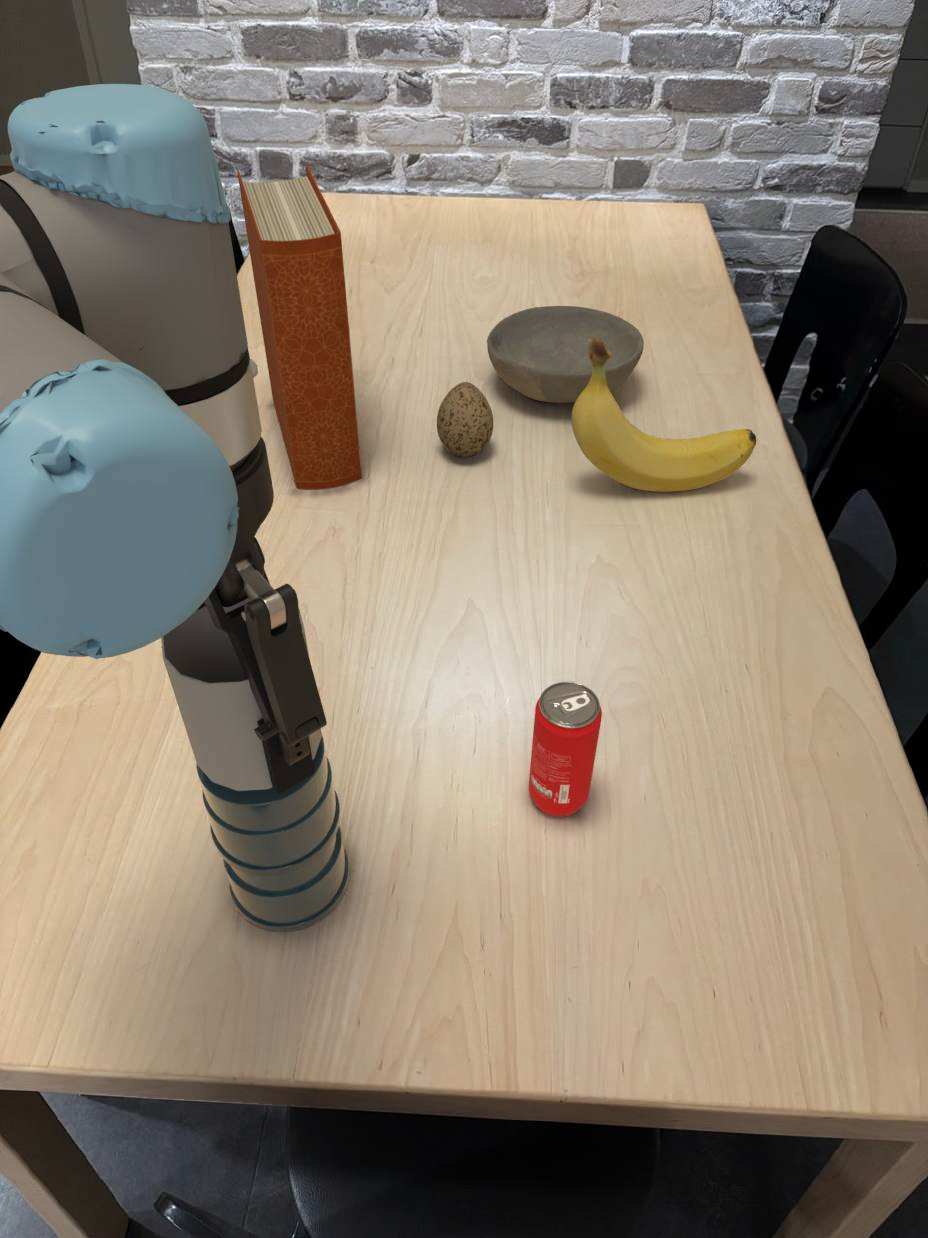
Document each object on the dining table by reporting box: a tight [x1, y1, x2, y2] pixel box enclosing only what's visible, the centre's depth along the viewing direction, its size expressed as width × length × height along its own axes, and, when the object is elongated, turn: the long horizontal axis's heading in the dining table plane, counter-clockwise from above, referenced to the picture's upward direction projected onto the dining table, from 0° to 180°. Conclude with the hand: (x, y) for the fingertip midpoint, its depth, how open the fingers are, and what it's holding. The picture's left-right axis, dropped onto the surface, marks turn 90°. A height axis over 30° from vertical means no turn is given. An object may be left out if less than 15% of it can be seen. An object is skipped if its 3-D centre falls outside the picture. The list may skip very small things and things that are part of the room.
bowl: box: [486, 305, 644, 404], centre depth 127 cm, size 21×21×8 cm
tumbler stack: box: [195, 735, 350, 933], centre depth 67 cm, size 9×9×16 cm
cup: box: [160, 598, 323, 791], centre depth 58 cm, size 8×8×10 cm
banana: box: [571, 337, 757, 493], centre depth 105 cm, size 23×6×20 cm, turn 96°
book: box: [236, 164, 363, 490], centre depth 109 cm, size 23×8×30 cm, turn 16°
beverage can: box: [528, 681, 603, 818], centre depth 75 cm, size 5×5×12 cm
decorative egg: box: [436, 381, 494, 458], centre depth 114 cm, size 7×7×10 cm
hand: (256, 737), depth 61 cm, fingers closed on cup, 8 cm apart
